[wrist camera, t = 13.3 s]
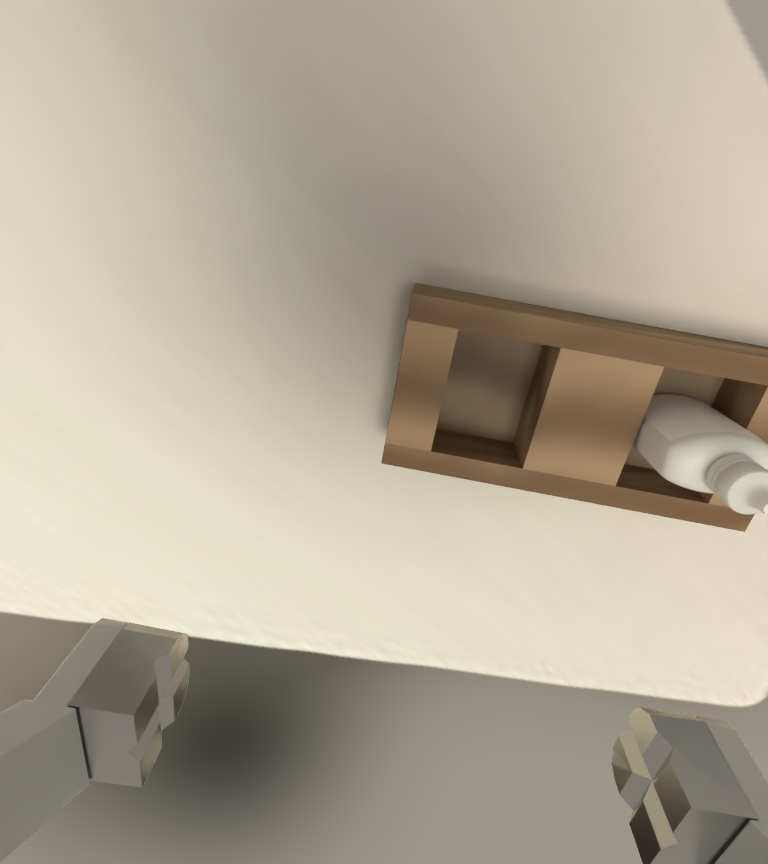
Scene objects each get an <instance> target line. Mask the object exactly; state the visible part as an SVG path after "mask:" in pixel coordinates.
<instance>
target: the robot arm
mask: <svg viewBox="0 0 768 864" xmlns="http://www.w3.org/2000/svg"><path fill="white" fill-rule="evenodd" d="M188 647H189V646H188V635H187V634H185V633H180V632H175V631H170V630H165V629H159V628H154V627H149V626H144V625H139V624H134V623H128V622H122V621H117V620H111V619H105V618H102V619H101V620H99V621H98V622H96V623H95V624H94V625H92V627H91V628H90V629H89V630H88V632H87V633H86V634H85V635H84V637H83V638H82V639H81V641H80V642H79V643H78V644H77V646H76V647H75V648H74V649H73V650H72V652H71V653H70V654H69V656H68V657H67V658H66V659H65V661H64V662H63V663H62V664H61V666H60V667H59V668H58V669H57V671H56V672H55V673H54V675H53V676H52V677H51V678H50V680H49V681H48V682H47V683H46V685H45V686H44V687H43V689H42V690H41V691H40V692H39V693H38V695H37V696H36V697H35V699H34V700H33V701H29V700H22V701H20V702H19V703H17V704H15V705H13V706H12V707H10V708H8V709H7V710H5V711H3V712H1V713H0V862H1V861H2V860H3V859H5V858H6V857H7V856H8V855H9V854H10V853H11V852H12V851H13V850H15V849H16V848H17V847H18V846H19V845H21V844H22V843H23V842H24V841H25V840H26V839H27V838H29V837H30V836H31V835H32V834H33V833H34V832H36V831H37V830H38V829H39V828H40V827H41V826H42V825H43V824H45V823H46V822H47V821H48V820H49V819H50V818H52V817H53V816H54V815H55V814H56V813H57V812H58V811H60V810H61V809H62V808H63V807H64V806H65V805H67V804H68V803H69V802H70V801H71V800H72V799H73V798H75V797H76V796H77V795H78V794H79V793H80V792H81V791H83V790H84V789H85V788H86V787H87V786H88V785H89V784H90V781H89V780H91V781H98V782H105V783H113V784H120V785H128V786H135V787H143V785H144V782H145V780H146V778H147V776H148V774H149V772H150V770H151V768H152V766H153V764H154V762H155V760H156V758H157V756H158V754H159V752H160V750H161V747H162V737H161V730H162V729H164V728H165V727H167V726H168V725H169V724H170V723H172V722H173V721H174V720H175V719H176V716H177V714H178V712H179V710H180V708H181V706H182V703H183V700H184V697H185V694H186V690H187V687H188V680H189V664H188V662H187V661H186V660H185V659H184V658H183V657H184V655H185V653H186V651H187V649H188ZM628 721H629V724H630V726H631V729H630V730H628V731H626V732H624V733H622V734H621V735H619V736H618V738H617V741H616V743H615V745H614V747H613V758H612V766H613V772H614V778H615V781H616V785H617V788H618V791H619V794H620V795H621V796H622V798H623V799H624V800H625V801H626V802H627V803H628V804H629V806H630V807H631V808H632V809H633V813H632V816H631V820H630V823H629V824H630V827H631V830H632V833H633V836H634V839H635V842H636V845H637V848H638V851H639V854H640V857H641V860H642V863H643V864H768V783H767V782H766V780H765V778H764V777H763V775H762V773H761V772H760V770H759V768H758V767H757V765H756V763H755V762H754V760H753V758H752V757H751V755H750V753H749V752H748V750H747V748H746V747H745V745H744V743H743V742H742V740H741V738H740V737H739V735H738V733H737V732H736V730H735V729H734V728H733V727H732V726H731V725H730V724H729V723H728V722H727V721H723V720H718V719H711V718H705V717H699V716H693V715H690V714H683V713H677V712H671V711H663V710H657V709H650V708H643V707H639V708H637V709H635V710H633V711H632V713H631V715H630V716H629V718H628Z"/></svg>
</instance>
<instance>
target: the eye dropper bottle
mask: <svg viewBox="0 0 768 864" xmlns="http://www.w3.org/2000/svg"><path fill="white" fill-rule="evenodd" d="M632 445H633V446H634V447H635V449H636V450H637V451H638V452H639V453H640V454H641V455H642V456H643V457H644V458H645V459H646V460H647V461H648V462H649V464H650V465H651V466H652V467H653V468H654V469H655V470H656V471H657V472H658V473H659V474H660V475H661V476H662V477H664V478H665V479H666V480H668V481H670V482H672V483H674V484H676V485H679V486H681V487H684V488H687V489H691V490H694V491H699V492H705V493H715V494H716V495H717V496H718V497H719V498H720V499H721V500H722V501H723V502H724V503H725V504H726V505H727V506H728V507H729V508H730V509H732V510H733V511H735V512H737V513H741V514H747V515H748V514H756V513H760V512H763V513H765V514H766V515H768V444H767V443H766V442H764V441H763V440H762V439H760V438H759V437H757V436H756V435H754V434H753V433H751V432H750V431H748V430H747V429H745V428H744V427H742V426H740V425H739V424H737V423H736V422H734V421H733V420H731V419H730V418H728V417H726V416H725V415H723V414H722V413H720V412H719V411H717V410H716V409H714V408H712V407H711V406H709V405H708V404H706V403H704V402H702V401H700V400H697V399H694V398H691V397H688V396H683V395H677V394H654V395H653V396H652V398H651V401H650V403H649V405H648V408H647V410H646V413H645V415H644V418H643V420H642V422H641V425H640V427H639V430H638V432H637V435H636V437H635V440H634V442H633V444H632Z"/></svg>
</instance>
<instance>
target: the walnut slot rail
mask: <svg viewBox="0 0 768 864" xmlns="http://www.w3.org/2000/svg"><path fill="white" fill-rule="evenodd" d="M654 394H677V395H683V396H688V397H691V398H694V399H697V400H700V401H702V402H704V403H706V404H708V405H709V406H711V407H712V408H714V409H716V410H717V411H719V412H720V413H722V414H723V415H725V416H726V417H728V418H730V419H731V420H733V421H734V422H736V423H737V424H739V425H740V426H742V427H744V428H745V429H747V430H748V431H750V432H751V433H753V434H754V435H756V436H757V437H759V438H760V439H762V440H763V441H764V442H766V443H767V444H768V347H762V346H757V345H751V344H746V343H740V342H735V341H729V340H723V339H718V338H712V337H707V336H701V335H696V334H690V333H685V332H679V331H674V330H668V329H663V328H657V327H652V326H646V325H641V324H635V323H630V322H624V321H619V320H613V319H608V318H602V317H597V316H591V315H586V314H580V313H575V312H569V311H564V310H558V309H553V308H547V307H542V306H536V305H531V304H525V303H520V302H514V301H509V300H503V299H498V298H492V297H487V296H481V295H476V294H470V293H465V292H459V291H454V290H448V289H443V288H437V287H432V286H426V285H421V284H415V286H414V289H413V293H412V298H411V304H410V309H409V315H408V320H407V326H406V331H405V337H404V342H403V348H402V353H401V359H400V364H399V370H398V375H397V381H396V386H395V392H394V397H393V403H392V408H391V414H390V419H389V425H388V430H387V436H386V441H385V446H384V452H383V457H382V463H383V464H388V465H394V466H399V467H404V468H410V469H415V470H420V471H426V472H431V473H436V474H441V475H447V476H452V477H457V478H463V479H468V480H473V481H479V482H484V483H489V484H494V485H500V486H505V487H510V488H516V489H521V490H526V491H532V492H537V493H542V494H547V495H553V496H558V497H563V498H569V499H574V500H579V501H585V502H590V503H595V504H600V505H606V506H611V507H616V508H622V509H627V510H632V511H638V512H643V513H648V514H653V515H659V516H664V517H669V518H675V519H680V520H685V521H690V522H696V523H701V524H706V525H712V526H717V527H722V528H728V529H733V530H738V531H743V532H745V530H746V528H747V527H748V525H749V523H750V521H751V520H752V518H753V516H754V514H748V515H747V514H741V513H737V512H735V511H733V510H732V509H730V508H729V507H728V506H727V505H726V504H725V503H724V502H723V501H722V500H721V499H720V498H719V497H718V496H717V495H716V494H715V493H705V492H699V491H694V490H691V489H687V488H684V487H681V486H679V485H676V484H674V483H672V482H670V481H668V480H666V479H665V478H664V477H662V476H661V475H660V474H659V473H658V472H657V471H656V470H655V469H654V468H653V467H652V466H651V465H650V464H649V462H648V461H647V460H646V459H645V458H644V457H643V456H642V455H641V454H640V453H639V452H638V451H637V450H636V449H635V447H634V446H633V445H632V444H633V442H634V440H635V437H636V435H637V432H638V430H639V427H640V425H641V422H642V420H643V418H644V415H645V413H646V410H647V408H648V405H649V403H650V401H651V398H652V396H653V395H654Z"/></svg>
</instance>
